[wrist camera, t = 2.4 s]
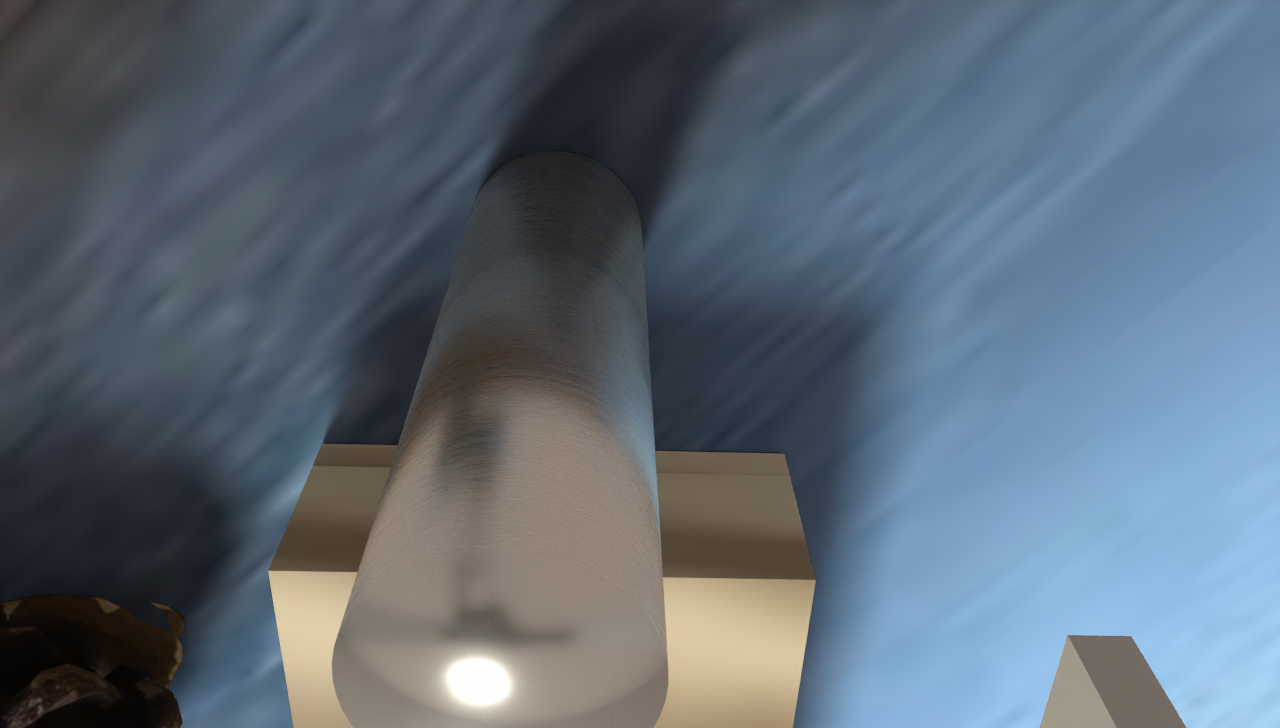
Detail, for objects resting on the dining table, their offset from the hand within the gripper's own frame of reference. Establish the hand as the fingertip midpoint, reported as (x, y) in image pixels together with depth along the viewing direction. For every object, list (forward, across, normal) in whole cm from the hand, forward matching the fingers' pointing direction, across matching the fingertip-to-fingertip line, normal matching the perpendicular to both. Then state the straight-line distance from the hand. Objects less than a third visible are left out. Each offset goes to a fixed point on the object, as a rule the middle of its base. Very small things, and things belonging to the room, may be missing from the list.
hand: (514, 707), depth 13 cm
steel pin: (+14, 0, 0) cm, 14 cm away
